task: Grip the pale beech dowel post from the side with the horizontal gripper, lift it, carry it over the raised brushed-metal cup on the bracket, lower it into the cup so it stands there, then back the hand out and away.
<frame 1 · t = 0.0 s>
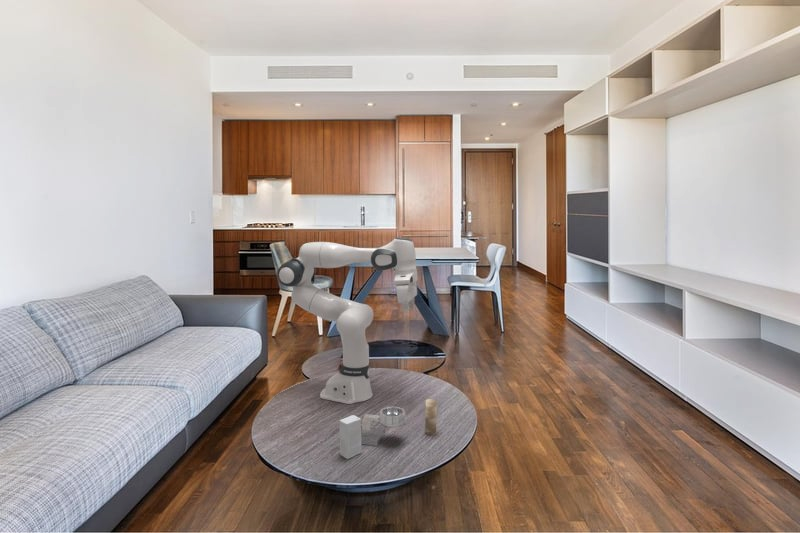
hand: (409, 310, 189), 39 cm above the table, tool pointing down, fingers open, 8 cm apart
rail post: (430, 432, 167), on the table
skincare box: (350, 454, 152), on the table
cup bracket: (392, 440, 161), on the table
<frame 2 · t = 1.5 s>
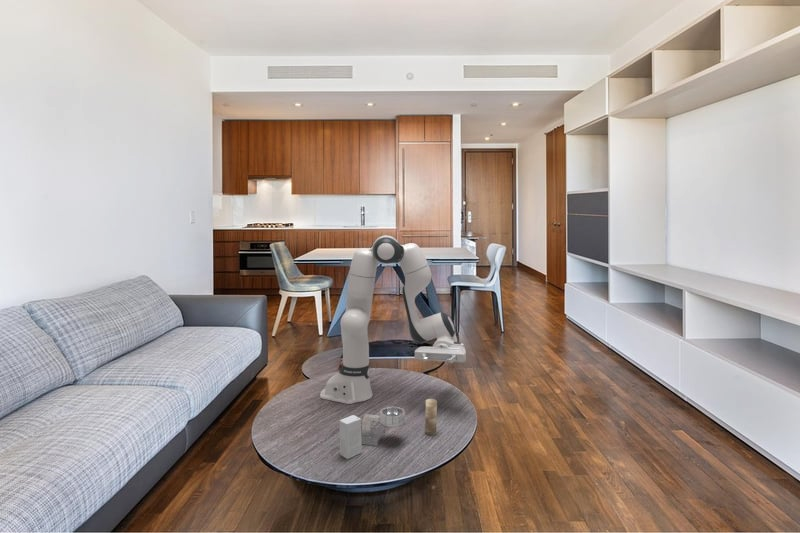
hand: (437, 360, 176), 23 cm above the table, tool horizontal, fingers open, 8 cm apart
nothing on the table moved.
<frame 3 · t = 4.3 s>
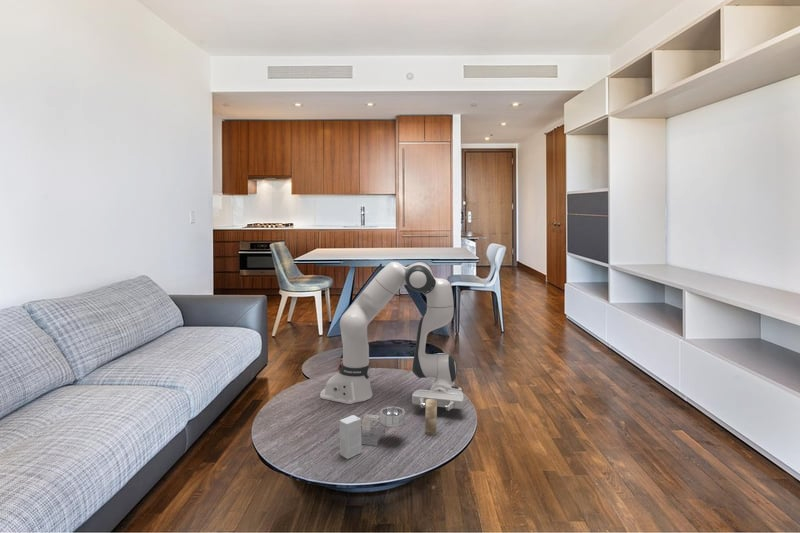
hand: (434, 407, 174), 6 cm above the table, tool horizontal, fingers open, 8 cm apart
nothing on the table moved.
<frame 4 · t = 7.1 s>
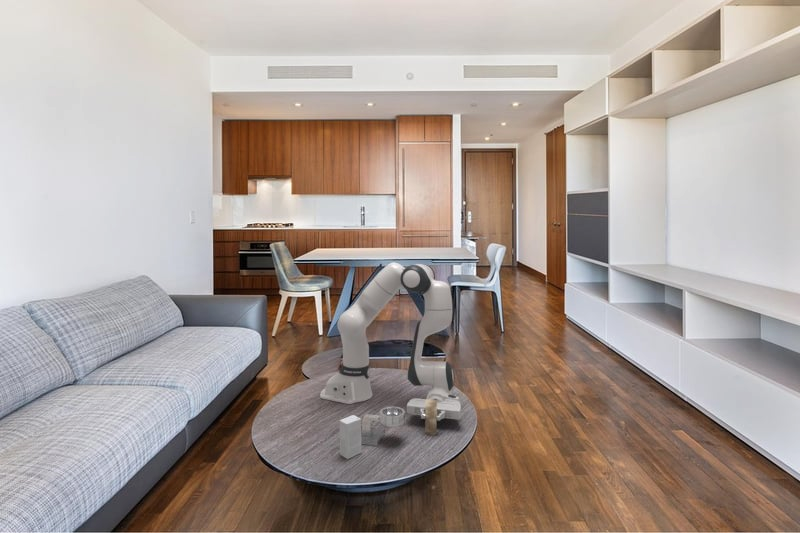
hand: (430, 417, 165), 6 cm above the table, tool horizontal, fingers closed on rail post, 4 cm apart
rail post: (430, 432, 167), on the table, touching gripper
everything else where it was.
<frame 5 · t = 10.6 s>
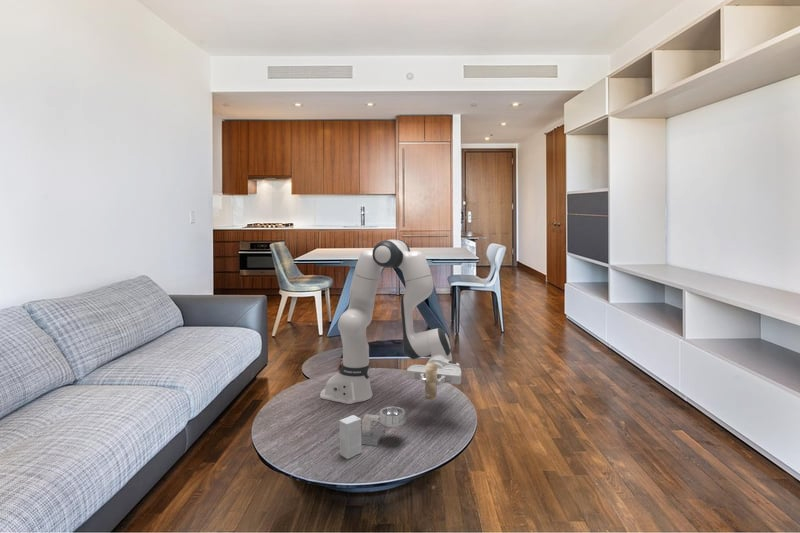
hand: (430, 381, 164), 19 cm above the table, tool horizontal, fingers closed on rail post, 4 cm apart
rail post: (430, 397, 165), point 13 cm above the table, touching gripper
everything else where it was.
when the fingers open (15 cm above the table, at t = 14.5 s): rail post drops 1 cm, resting on cup bracket.
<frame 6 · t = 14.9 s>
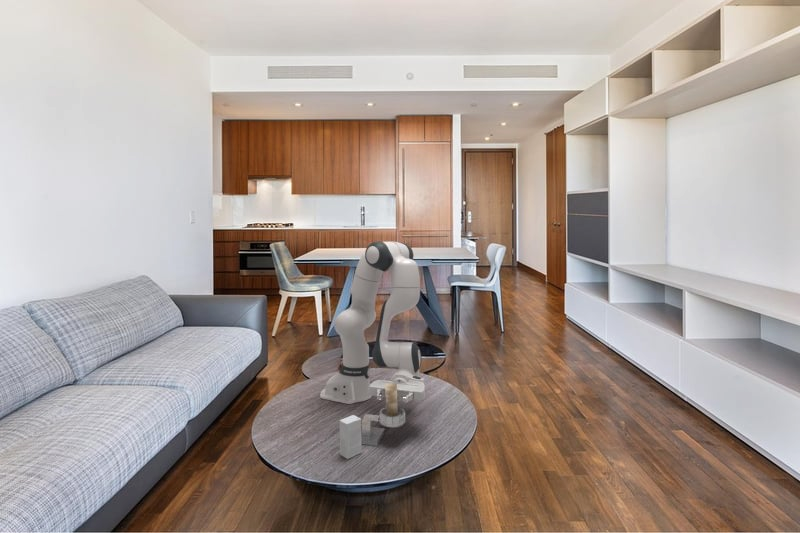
hand: (391, 398, 158), 15 cm above the table, tool horizontal, fingers open, 8 cm apart
rail post: (392, 418, 160), point 8 cm above the table, touching cup bracket
everything else where it was.
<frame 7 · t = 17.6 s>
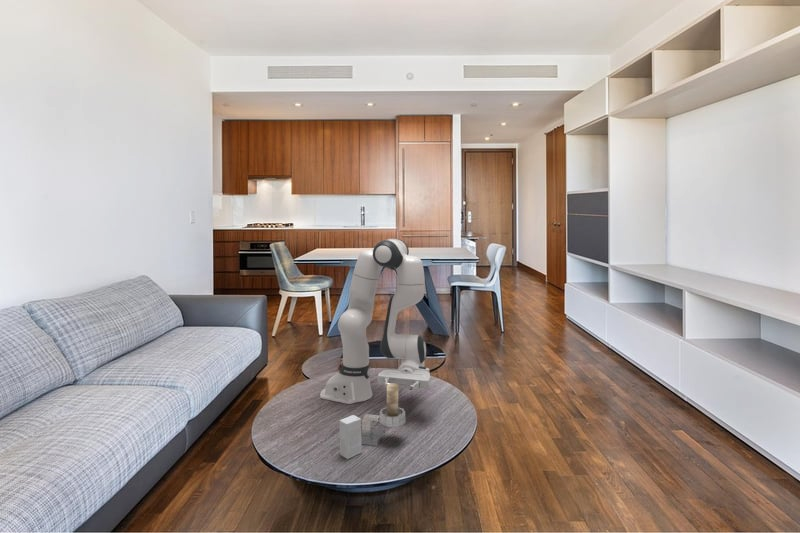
hand: (399, 386, 169), 15 cm above the table, tool horizontal, fingers open, 8 cm apart
nothing on the table moved.
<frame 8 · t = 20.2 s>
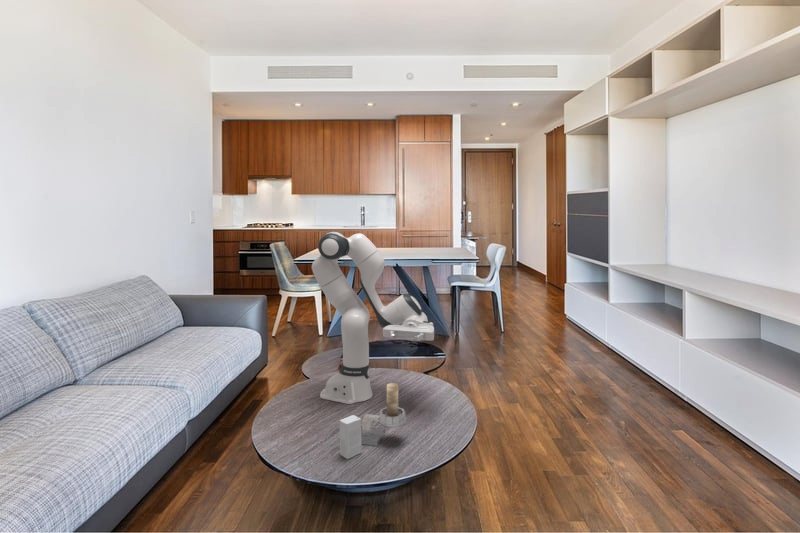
hand: (404, 338, 174), 32 cm above the table, tool horizontal, fingers open, 8 cm apart
nothing on the table moved.
at the end: rail post 0.0 cm off-centre on the cup bracket, point 8.0 cm above the cup bracket's base; rail post tilted 0°; the gripper is holding nothing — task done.
